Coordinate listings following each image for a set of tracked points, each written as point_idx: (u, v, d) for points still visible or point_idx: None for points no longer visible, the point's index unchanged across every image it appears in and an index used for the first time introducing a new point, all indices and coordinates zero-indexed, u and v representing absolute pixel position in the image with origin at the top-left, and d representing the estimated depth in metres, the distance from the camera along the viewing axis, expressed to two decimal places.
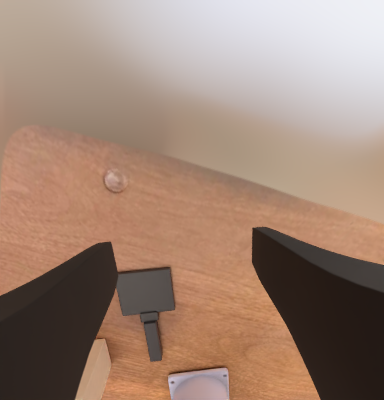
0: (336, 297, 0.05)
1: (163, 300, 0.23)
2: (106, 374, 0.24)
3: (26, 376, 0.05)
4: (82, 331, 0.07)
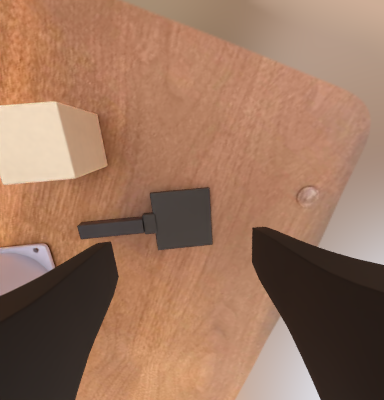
0: (336, 297, 0.05)
1: (172, 238, 0.20)
2: None
3: (27, 376, 0.05)
4: (82, 331, 0.07)
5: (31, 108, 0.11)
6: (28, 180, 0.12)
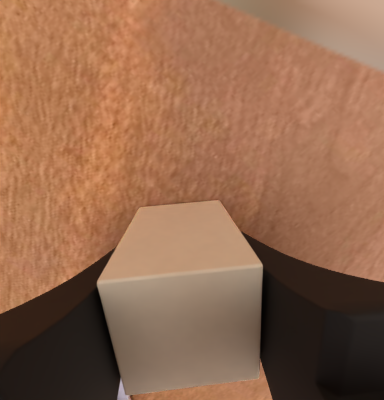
0: (280, 303, 0.05)
1: None
2: None
3: (85, 369, 0.05)
4: None
5: (211, 279, 0.05)
6: (173, 387, 0.06)
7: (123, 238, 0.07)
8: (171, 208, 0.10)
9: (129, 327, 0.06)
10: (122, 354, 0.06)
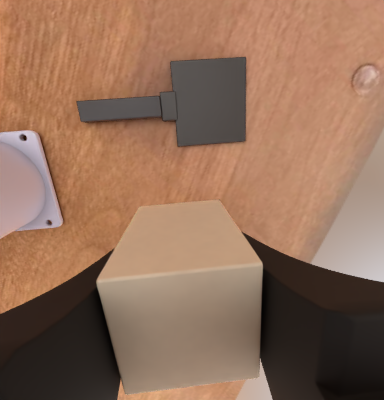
0: (280, 303, 0.05)
1: (196, 129, 0.16)
2: None
3: (85, 369, 0.05)
4: None
5: (211, 278, 0.05)
6: (173, 386, 0.06)
7: (123, 237, 0.07)
8: (171, 207, 0.10)
9: (129, 325, 0.06)
10: (122, 353, 0.06)
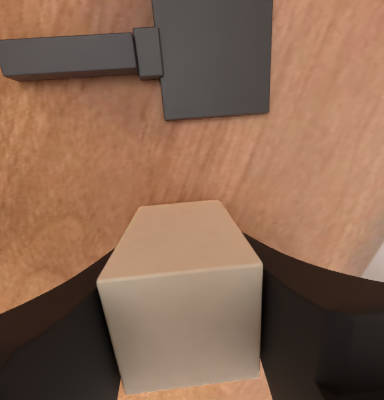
0: (280, 303, 0.05)
1: (193, 93, 0.10)
2: None
3: (85, 369, 0.05)
4: None
5: (211, 278, 0.05)
6: (173, 386, 0.06)
7: (123, 237, 0.07)
8: (171, 207, 0.10)
9: (128, 326, 0.06)
10: (122, 353, 0.06)
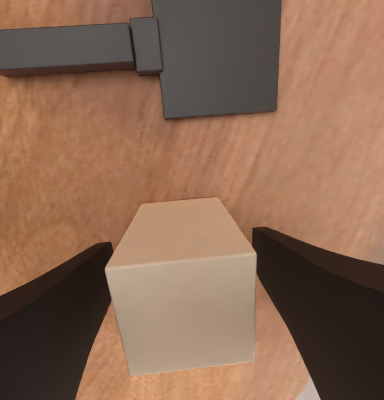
0: (336, 297, 0.05)
1: (195, 90, 0.10)
2: None
3: (26, 376, 0.05)
4: (82, 331, 0.07)
5: (210, 266, 0.06)
6: (174, 368, 0.07)
7: (127, 231, 0.08)
8: (172, 204, 0.11)
9: (133, 311, 0.06)
10: (127, 336, 0.06)
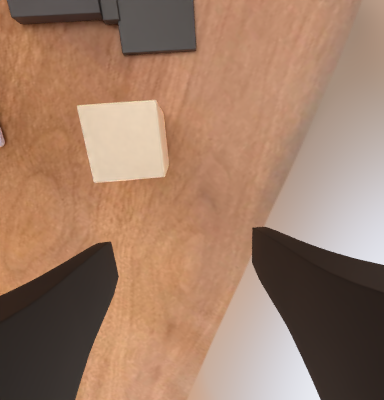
0: (336, 297, 0.05)
1: (141, 33, 0.15)
2: None
3: (26, 376, 0.05)
4: (82, 331, 0.07)
5: (131, 106, 0.11)
6: (119, 178, 0.12)
7: None
8: None
9: (93, 134, 0.12)
10: (90, 152, 0.12)
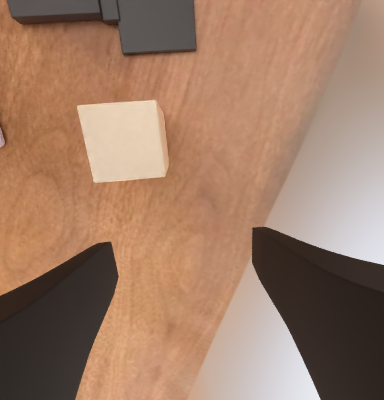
0: (336, 297, 0.05)
1: (141, 33, 0.15)
2: None
3: (26, 376, 0.05)
4: (82, 331, 0.07)
5: (131, 106, 0.11)
6: (119, 178, 0.12)
7: None
8: None
9: (93, 134, 0.12)
10: (90, 152, 0.12)
